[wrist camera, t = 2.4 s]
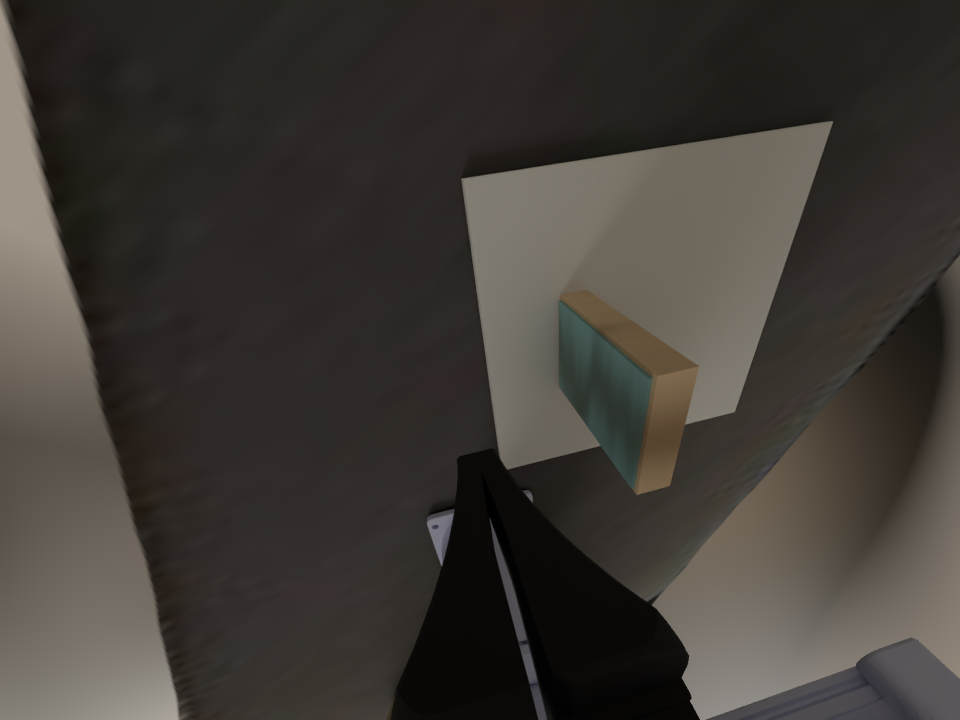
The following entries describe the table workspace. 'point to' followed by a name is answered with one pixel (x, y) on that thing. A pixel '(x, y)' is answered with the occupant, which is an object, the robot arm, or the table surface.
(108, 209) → the table surface
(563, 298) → the wood tile
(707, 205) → the rubber mat
